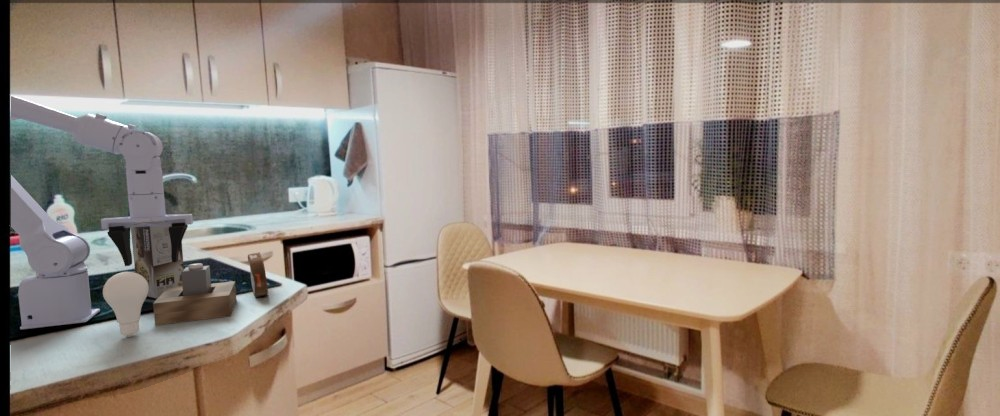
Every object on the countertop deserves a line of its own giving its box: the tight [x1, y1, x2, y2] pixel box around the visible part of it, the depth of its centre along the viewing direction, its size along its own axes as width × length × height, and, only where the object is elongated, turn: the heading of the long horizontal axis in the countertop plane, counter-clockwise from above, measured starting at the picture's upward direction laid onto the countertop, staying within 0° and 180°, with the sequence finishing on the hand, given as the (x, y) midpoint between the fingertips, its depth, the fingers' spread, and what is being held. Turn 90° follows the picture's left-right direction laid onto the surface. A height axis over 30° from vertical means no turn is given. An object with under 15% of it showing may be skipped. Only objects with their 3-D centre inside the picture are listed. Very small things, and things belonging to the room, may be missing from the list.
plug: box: [181, 262, 212, 296], centre depth 98 cm, size 4×4×7 cm
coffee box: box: [130, 221, 185, 299], centre depth 112 cm, size 9×6×16 cm
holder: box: [152, 280, 237, 326], centre depth 98 cm, size 12×12×4 cm
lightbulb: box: [102, 271, 149, 338], centre depth 84 cm, size 6×6×11 cm
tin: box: [247, 252, 269, 298], centre depth 111 cm, size 15×3×8 cm, turn 29°
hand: (152, 263), depth 99 cm, fingers open, 7 cm apart
